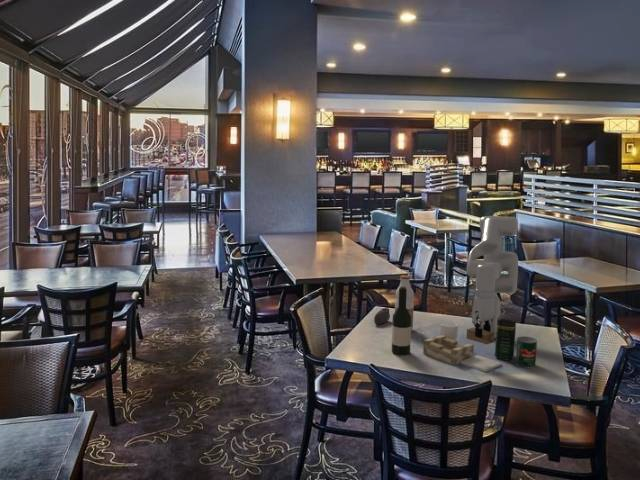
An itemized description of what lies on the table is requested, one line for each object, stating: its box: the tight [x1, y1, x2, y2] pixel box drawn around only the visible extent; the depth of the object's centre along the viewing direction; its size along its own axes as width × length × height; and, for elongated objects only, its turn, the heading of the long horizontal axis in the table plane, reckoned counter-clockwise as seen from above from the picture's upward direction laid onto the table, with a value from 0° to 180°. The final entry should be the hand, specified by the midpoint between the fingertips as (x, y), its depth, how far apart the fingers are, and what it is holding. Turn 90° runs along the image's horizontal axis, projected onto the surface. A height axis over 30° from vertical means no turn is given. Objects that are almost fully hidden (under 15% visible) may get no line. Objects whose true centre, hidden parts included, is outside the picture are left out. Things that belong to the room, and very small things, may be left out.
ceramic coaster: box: [460, 354, 503, 373], centre depth 226 cm, size 12×12×1 cm
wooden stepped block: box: [422, 334, 475, 366], centre depth 236 cm, size 13×17×6 cm
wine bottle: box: [391, 286, 412, 356], centre depth 238 cm, size 8×8×30 cm
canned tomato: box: [515, 336, 538, 369], centre depth 226 cm, size 8×8×11 cm
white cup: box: [440, 321, 459, 341], centre depth 250 cm, size 8×8×10 cm
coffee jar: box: [494, 314, 517, 361], centre depth 234 cm, size 10×8×19 cm
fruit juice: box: [394, 274, 415, 332], centre depth 271 cm, size 9×9×28 cm
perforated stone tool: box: [373, 307, 391, 326], centre depth 285 cm, size 15×5×7 cm, turn 145°
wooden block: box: [466, 327, 495, 345], centre depth 225 cm, size 5×10×4 cm, turn 39°
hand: (482, 335), depth 225 cm, fingers closed on wooden block, 5 cm apart
